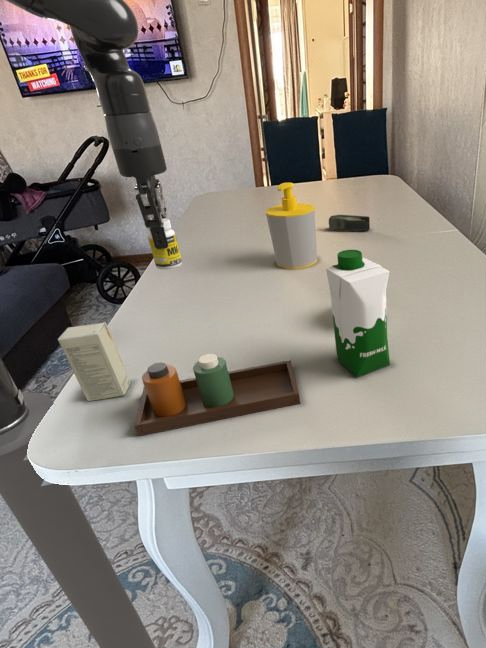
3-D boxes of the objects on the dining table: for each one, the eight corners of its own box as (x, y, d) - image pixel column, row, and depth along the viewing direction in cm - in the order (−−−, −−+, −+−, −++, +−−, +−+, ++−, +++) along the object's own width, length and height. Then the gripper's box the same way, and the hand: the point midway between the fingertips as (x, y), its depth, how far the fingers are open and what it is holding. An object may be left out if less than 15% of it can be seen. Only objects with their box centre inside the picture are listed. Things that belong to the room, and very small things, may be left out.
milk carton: (370, 345, 90) (364, 244, 80) (397, 365, 83) (395, 258, 73) (330, 359, 86) (319, 255, 76) (355, 382, 80) (346, 271, 69)
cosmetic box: (131, 382, 83) (108, 321, 77) (125, 396, 79) (100, 333, 73) (93, 387, 82) (66, 326, 76) (84, 402, 79) (56, 338, 72)
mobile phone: (369, 214, 153) (325, 213, 156) (368, 217, 151) (323, 216, 153) (370, 229, 156) (326, 228, 158) (368, 232, 153) (324, 231, 156)
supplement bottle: (174, 270, 86) (162, 225, 82) (151, 270, 87) (138, 225, 83) (187, 261, 90) (176, 217, 86) (165, 260, 91) (153, 217, 87)
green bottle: (202, 410, 74) (190, 369, 70) (202, 392, 78) (191, 353, 75) (234, 403, 75) (224, 363, 71) (233, 386, 80) (223, 347, 76)
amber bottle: (152, 420, 73) (137, 379, 69) (155, 401, 77) (141, 361, 73) (185, 413, 74) (172, 372, 70) (187, 395, 78) (175, 356, 74)
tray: (138, 436, 70) (134, 426, 69) (147, 396, 79) (143, 386, 78) (300, 403, 75) (299, 393, 74) (292, 369, 84) (290, 359, 83)
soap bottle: (264, 266, 130) (250, 188, 119) (290, 251, 140) (280, 177, 129) (304, 272, 125) (294, 190, 114) (328, 256, 135) (321, 179, 124)
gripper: (118, 140, 83) (146, 235, 92) (103, 151, 71) (136, 258, 80) (163, 137, 84) (186, 230, 93) (156, 147, 73) (183, 253, 81)
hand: (163, 243), depth 86 cm, fingers closed on supplement bottle, 4 cm apart
